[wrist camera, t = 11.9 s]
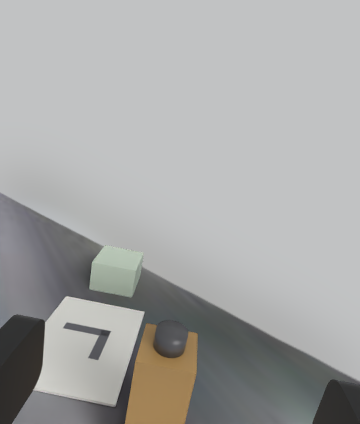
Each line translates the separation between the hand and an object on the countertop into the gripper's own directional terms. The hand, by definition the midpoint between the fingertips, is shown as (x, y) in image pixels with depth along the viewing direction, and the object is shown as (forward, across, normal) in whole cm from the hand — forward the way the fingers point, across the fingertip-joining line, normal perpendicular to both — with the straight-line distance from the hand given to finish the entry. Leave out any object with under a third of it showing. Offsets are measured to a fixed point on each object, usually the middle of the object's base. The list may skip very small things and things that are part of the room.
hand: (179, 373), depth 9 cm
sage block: (+40, +10, +22) cm, 47 cm away
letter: (+25, +10, +22) cm, 35 cm away
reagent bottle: (+14, 0, +22) cm, 26 cm away
